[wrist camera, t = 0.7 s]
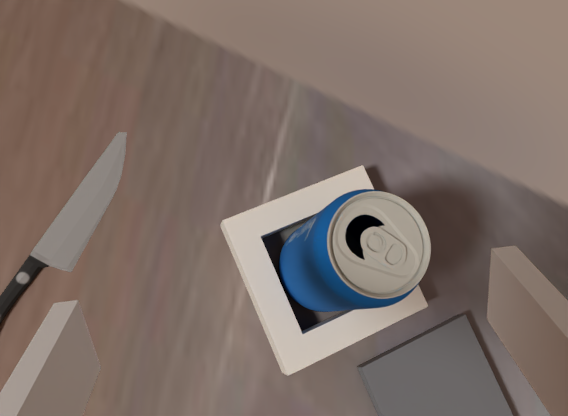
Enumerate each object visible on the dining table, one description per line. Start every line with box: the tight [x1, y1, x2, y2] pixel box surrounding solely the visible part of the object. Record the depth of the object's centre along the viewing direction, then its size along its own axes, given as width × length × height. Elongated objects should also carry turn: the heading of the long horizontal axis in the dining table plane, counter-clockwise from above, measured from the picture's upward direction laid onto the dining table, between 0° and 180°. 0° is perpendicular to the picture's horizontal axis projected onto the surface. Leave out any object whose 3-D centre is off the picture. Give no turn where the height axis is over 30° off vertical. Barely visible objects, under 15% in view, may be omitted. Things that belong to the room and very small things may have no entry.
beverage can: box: [279, 189, 431, 312], centre depth 33 cm, size 6×6×12 cm
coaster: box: [357, 314, 513, 416], centre depth 37 cm, size 9×9×1 cm
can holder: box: [220, 165, 428, 376], centre depth 37 cm, size 11×11×2 cm
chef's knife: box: [0, 132, 127, 323], centre depth 35 cm, size 19×1×3 cm
